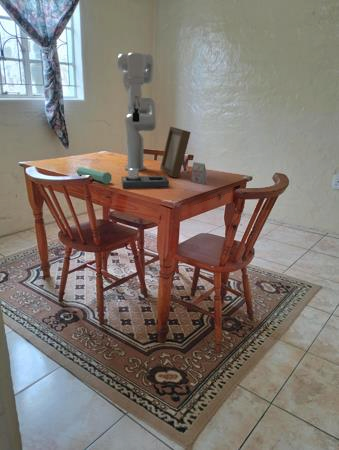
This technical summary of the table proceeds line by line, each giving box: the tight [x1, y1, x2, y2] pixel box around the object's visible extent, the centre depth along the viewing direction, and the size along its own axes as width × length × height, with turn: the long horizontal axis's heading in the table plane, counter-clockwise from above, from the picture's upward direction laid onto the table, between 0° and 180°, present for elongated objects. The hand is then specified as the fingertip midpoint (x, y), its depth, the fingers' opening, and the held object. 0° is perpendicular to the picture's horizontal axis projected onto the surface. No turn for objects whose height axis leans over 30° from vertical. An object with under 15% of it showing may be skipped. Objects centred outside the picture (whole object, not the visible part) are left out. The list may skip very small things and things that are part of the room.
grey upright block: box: [190, 161, 207, 185], centre depth 180 cm, size 4×7×10 cm, turn 48°
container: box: [76, 166, 113, 185], centre depth 181 cm, size 6×6×25 cm
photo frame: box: [160, 126, 191, 179], centre depth 197 cm, size 15×22×25 cm
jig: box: [121, 175, 170, 189], centre depth 173 cm, size 12×22×3 cm, turn 100°
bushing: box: [127, 168, 140, 181], centre depth 171 cm, size 5×5×8 cm
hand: (135, 121), depth 174 cm, fingers closed
